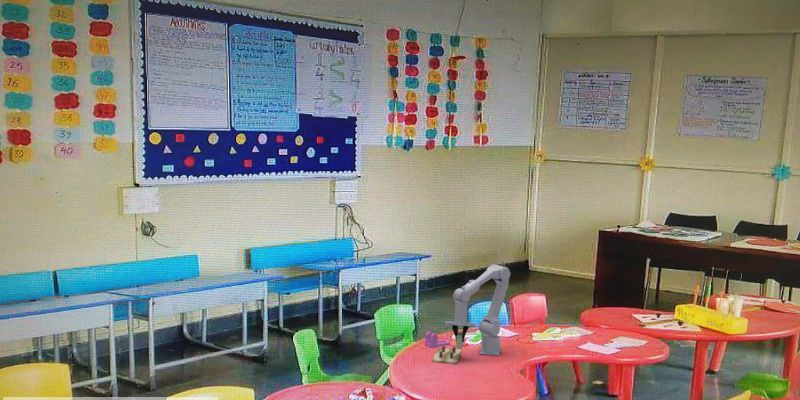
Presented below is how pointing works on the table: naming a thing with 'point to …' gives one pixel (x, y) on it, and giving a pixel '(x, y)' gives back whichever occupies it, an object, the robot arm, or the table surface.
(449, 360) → the beige board with pegs
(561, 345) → the table surface
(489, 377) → the table surface
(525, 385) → the table surface
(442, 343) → the bracket
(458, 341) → the door
